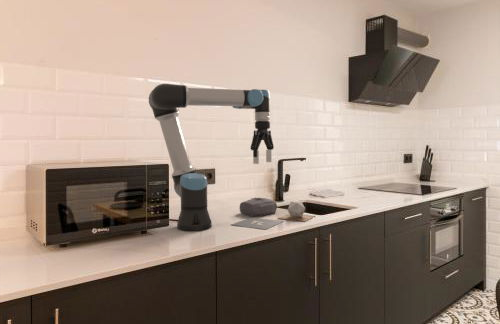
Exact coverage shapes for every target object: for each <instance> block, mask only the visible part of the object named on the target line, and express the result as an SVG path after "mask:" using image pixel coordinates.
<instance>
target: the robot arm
mask: <svg viewBox="0 0 500 324" xmlns="http://www.w3.org/2000/svg"><path fill="white" fill-rule="evenodd" d="M148 95H149V96H148V104H149V106H150V108H151V110H152V113H153V115H154V119H155V120H156V121H158V122H159V124H160V128H161V131H162V135H163V138H164V139H163V140H164V142H165V146H166V148H167V152H168V156H169V158H170V163H171V165H172V168H173V172H171V173H172V174H171V178H172V181H173V189H174V191H175V193H176V195H177V196H178V197H180V212H179V216H178V219H177V223H176V228H177V229H178V230H180V231H186V232H187V231H188V232H193V231H194V232H195V231H196V232H198V231H204V230H207V229H208V230H209V229H211V227H212V224H213V223H212V219H211V217H210V213H209V210H208V178H207V176H206V175H205V174H203V173H202V174H201V173H198V172H197V169H196V167H194V166H193V165H192V163H191V160H190V156H189V153H188V148H187V145H186V141H185V138H184V134H183V131H182V128H181V124H180V120H179V118H178V117H179V114H180V108H187V107H188V106H201V107H203V106H204V107H205V106H206V107H210V106H211V107H232V108H234V109H238V110H241V109H242V110H245V109H246V110H254V120H255V122H254V130H253V136H252V140H251V144H250V151H252V153H253V154H252V155H253V157H252V158H253V159H252V160H253V161H252V163H253V165H254V164H255V165H256V164H257V165H260V155H259V154H260V153H259V152H260V151H259V147H260V145H261V142H262V141H263V142H264V144H265V147H266V149H265V154H266V156H265V157H266V158H265V160H266V161H265V162H266V163H272V162H273V161H272V150H274V148H275V147H274V146H275V145H274V142H273V137H272V133H271V132H272V131H271V130H269V129H271V122H270V120H271V113H270V112H271V111H270V109H271V105H270V104H271V96H270V95H271V94H270V91H269V89H258V88H254V89H229V88H227V89H226V88H204V87H188V86H187V85H186V84H185V85H184V84H183V85H182V84H172V83H161V84H158V85H156V86H155V87H154V88H153V89H152V90H151V91H150V93H149V94H148ZM255 129H256V130H255Z"/></svg>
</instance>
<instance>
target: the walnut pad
mask: <svg viewBox="0 0 500 324" xmlns="http://www.w3.org/2000/svg"><path fill="white" fill-rule="evenodd" d="M313 217H314V218H315V217H316V215H310V214H303V216H302V218H291V216H290V214H289V213H287V214H285V215H282V216H280V217H278V218H277V219H278V220H282V221H293V222H294V221H295V222H300V223H301V222H303V223H306V222H308V221H310V220H312V219H313ZM311 218H312V219H311ZM309 219H310V220H309Z"/></svg>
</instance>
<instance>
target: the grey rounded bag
mask: <svg viewBox="0 0 500 324" xmlns="http://www.w3.org/2000/svg"><path fill="white" fill-rule="evenodd" d="M277 209H278V205H277V202H276V201H274V200H273V199H270V198H266V197H265V198H264V197H253V198H252V197H251V198H250V199H247V200H245V201H244V200H243V201H242V202H240V204H239V212H240V214H241V215H244V216H247V217H261V216H267V215H268V216H269V215H271V214H274V213H276V212H277Z"/></svg>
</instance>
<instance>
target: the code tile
mask: <svg viewBox="0 0 500 324" xmlns="http://www.w3.org/2000/svg"><path fill="white" fill-rule="evenodd" d="M284 221H285V220H279V219H278V220H277V219H268V218H260V217H259V218H258V217H253V216H249V217H248V218H246V219H242V220H240V221H238V222H234V223H231V224H230V226H236V227H243V228H251V229H257V230H265V231H266V230H269V229H271V228H273V227H275V226H277V225H280V224H281V223H283V222H284ZM279 223H280V224H279Z"/></svg>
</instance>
